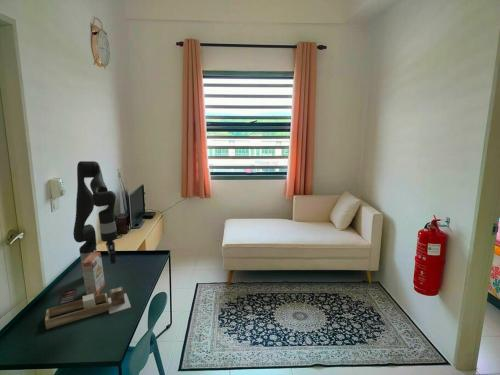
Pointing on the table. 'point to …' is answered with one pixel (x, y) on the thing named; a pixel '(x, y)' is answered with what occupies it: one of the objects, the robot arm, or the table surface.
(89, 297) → the cream block
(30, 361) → the table surface
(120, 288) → the walnut block
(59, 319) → the bin
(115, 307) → the pad
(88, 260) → the cracker box
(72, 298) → the smartphone
